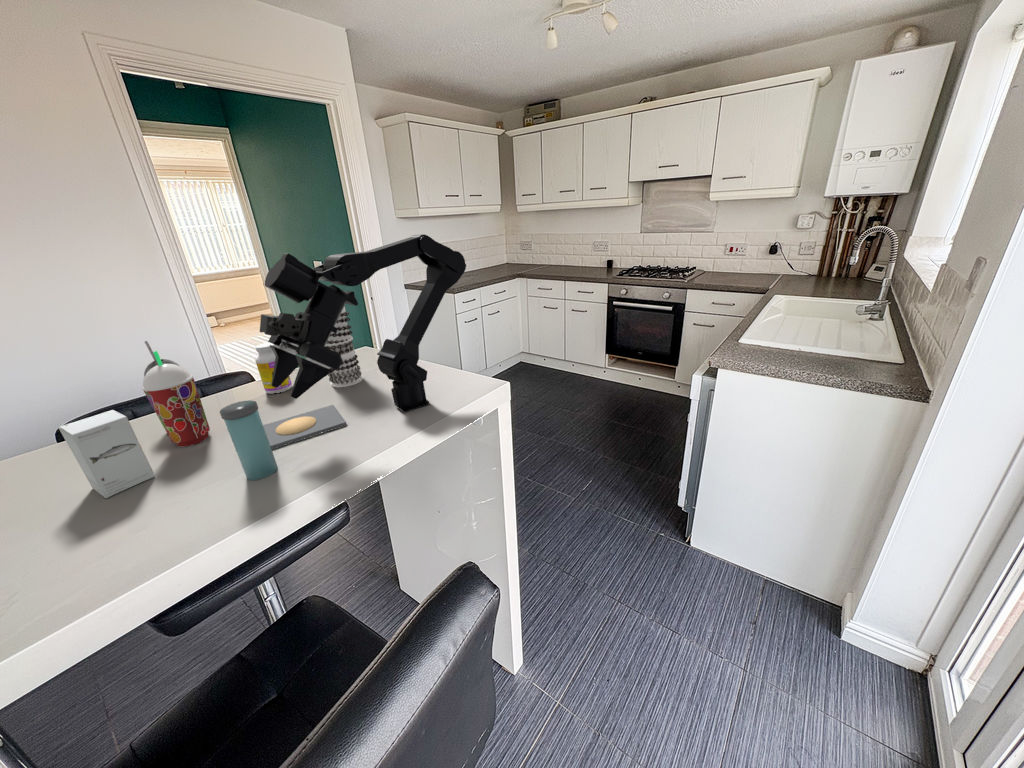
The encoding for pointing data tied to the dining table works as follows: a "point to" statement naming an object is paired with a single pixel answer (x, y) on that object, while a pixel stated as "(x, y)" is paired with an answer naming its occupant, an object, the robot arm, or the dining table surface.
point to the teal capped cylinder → (249, 439)
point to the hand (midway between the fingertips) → (283, 391)
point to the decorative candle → (344, 354)
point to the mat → (303, 426)
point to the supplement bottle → (269, 369)
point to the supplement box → (107, 452)
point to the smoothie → (176, 403)
